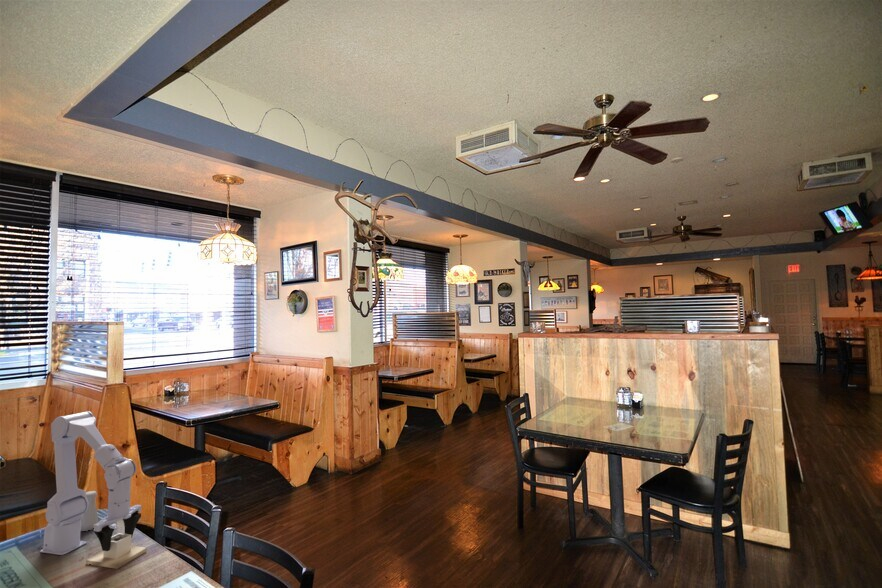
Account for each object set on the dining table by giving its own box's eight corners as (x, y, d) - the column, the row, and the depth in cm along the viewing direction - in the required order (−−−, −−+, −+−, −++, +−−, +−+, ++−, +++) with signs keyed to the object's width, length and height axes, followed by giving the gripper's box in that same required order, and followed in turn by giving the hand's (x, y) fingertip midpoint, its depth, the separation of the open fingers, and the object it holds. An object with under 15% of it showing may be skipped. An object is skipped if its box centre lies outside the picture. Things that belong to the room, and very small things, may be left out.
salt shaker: (86, 533, 153) (87, 496, 154) (73, 532, 154) (74, 494, 155) (102, 526, 159) (103, 489, 159) (89, 524, 160) (91, 488, 160)
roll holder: (86, 564, 134) (86, 543, 134) (116, 547, 144) (117, 528, 144) (117, 568, 131) (118, 547, 132) (146, 551, 141) (147, 532, 142)
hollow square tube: (103, 557, 136) (103, 540, 136) (118, 548, 141) (118, 533, 141) (116, 558, 135) (116, 542, 135) (130, 550, 140) (131, 534, 140)
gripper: (107, 511, 131) (105, 557, 130) (149, 492, 145) (147, 534, 144) (88, 509, 132) (86, 555, 131) (132, 490, 146) (130, 531, 146)
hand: (117, 544), depth 138 cm, fingers open, 7 cm apart
